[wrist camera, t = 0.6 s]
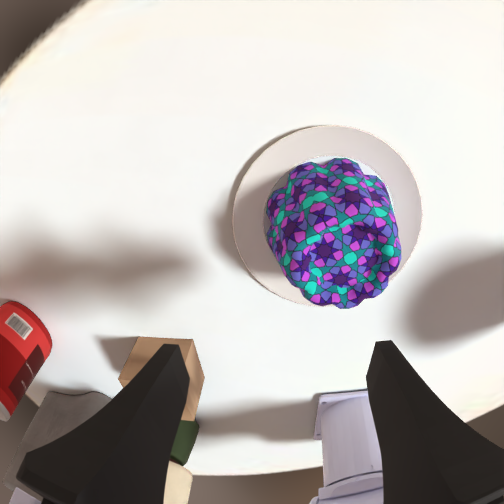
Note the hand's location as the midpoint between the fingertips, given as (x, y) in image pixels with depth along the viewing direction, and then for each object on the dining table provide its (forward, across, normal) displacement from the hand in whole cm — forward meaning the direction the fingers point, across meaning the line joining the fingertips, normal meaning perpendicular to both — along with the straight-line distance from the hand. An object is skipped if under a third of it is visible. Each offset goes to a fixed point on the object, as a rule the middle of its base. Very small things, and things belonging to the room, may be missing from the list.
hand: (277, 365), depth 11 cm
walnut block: (+10, +10, +11) cm, 18 cm away
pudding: (+10, -3, -1) cm, 11 cm away
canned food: (+10, +28, +9) cm, 31 cm away
